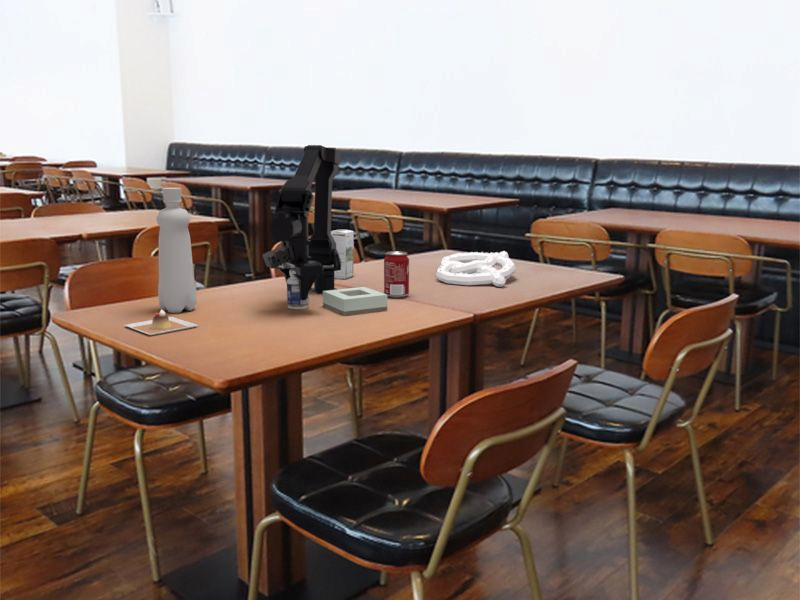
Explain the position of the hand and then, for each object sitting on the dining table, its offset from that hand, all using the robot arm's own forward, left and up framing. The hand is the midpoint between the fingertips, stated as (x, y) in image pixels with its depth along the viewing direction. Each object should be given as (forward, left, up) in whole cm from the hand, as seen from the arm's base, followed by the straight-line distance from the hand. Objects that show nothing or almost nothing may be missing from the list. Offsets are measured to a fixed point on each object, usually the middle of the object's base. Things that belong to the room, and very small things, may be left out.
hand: (297, 297), depth 195 cm
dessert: (+4, -35, -3) cm, 36 cm away
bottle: (-12, -27, -3) cm, 30 cm away
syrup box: (-33, +29, -3) cm, 44 cm away
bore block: (+8, +12, -2) cm, 15 cm away
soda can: (0, +29, -3) cm, 29 cm away
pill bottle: (0, 0, -3) cm, 3 cm away
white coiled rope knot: (-11, +64, -3) cm, 65 cm away
